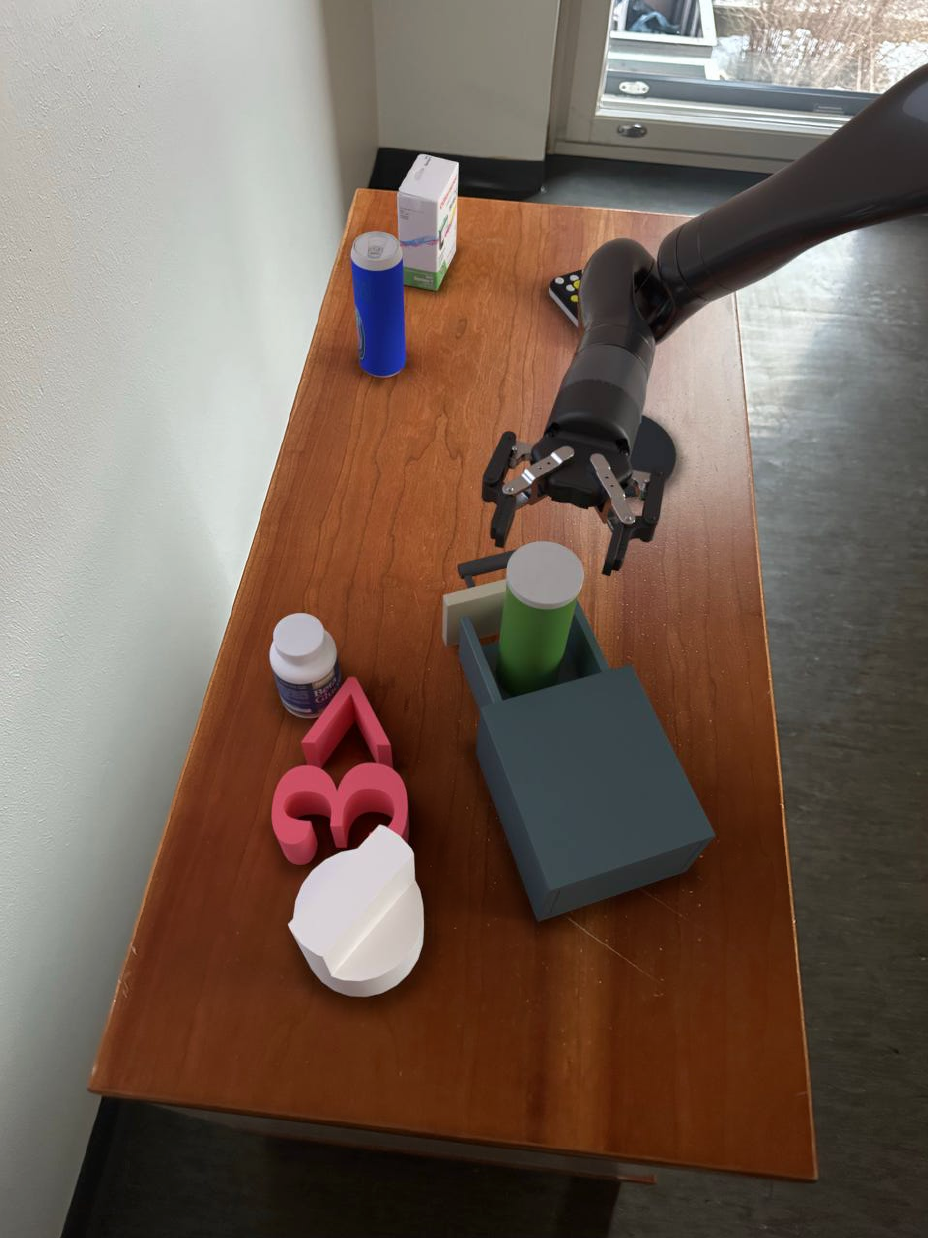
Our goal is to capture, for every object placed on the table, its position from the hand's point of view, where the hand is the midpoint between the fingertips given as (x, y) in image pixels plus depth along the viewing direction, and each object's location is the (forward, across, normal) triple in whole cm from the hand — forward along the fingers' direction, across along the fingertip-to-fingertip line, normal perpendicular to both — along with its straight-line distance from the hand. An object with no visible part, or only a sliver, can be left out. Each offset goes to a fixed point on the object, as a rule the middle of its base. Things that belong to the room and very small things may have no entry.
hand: (553, 555), depth 68 cm
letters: (+17, -12, +15) cm, 25 cm away
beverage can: (-31, -25, +15) cm, 43 cm away
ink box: (-49, -26, +15) cm, 57 cm away
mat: (-26, +2, +14) cm, 30 cm away
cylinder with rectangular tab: (+28, -6, +15) cm, 32 cm away
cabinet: (+14, +7, +15) cm, 21 cm away
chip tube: (+3, 0, +12) cm, 13 cm away
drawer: (+2, -1, +14) cm, 14 cm away
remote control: (-47, -5, +15) cm, 49 cm away
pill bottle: (+10, -18, +15) cm, 25 cm away
